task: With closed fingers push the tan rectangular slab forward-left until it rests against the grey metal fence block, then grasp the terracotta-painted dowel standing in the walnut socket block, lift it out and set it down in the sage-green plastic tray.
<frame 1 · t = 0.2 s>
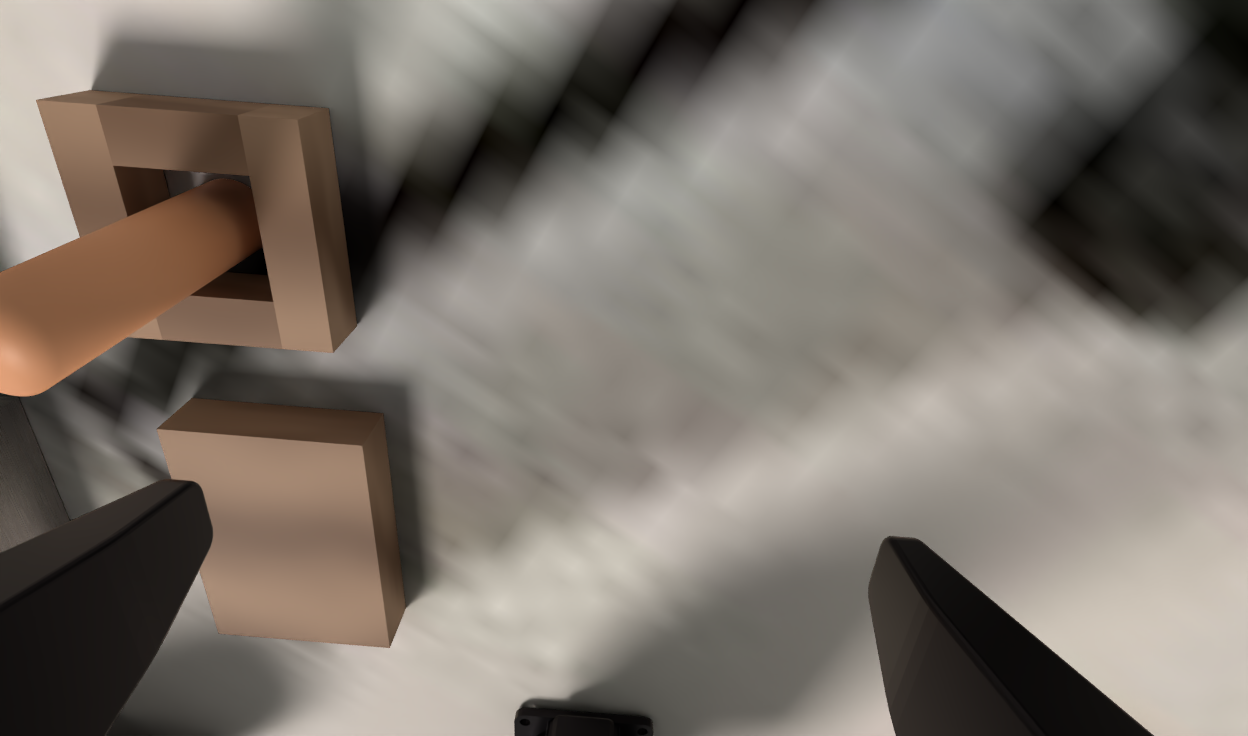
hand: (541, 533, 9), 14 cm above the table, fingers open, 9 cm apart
tan rectangular slab: (312, 504, 28), on the table
fence: (20, 490, 28), on the table
socket block: (233, 216, 22), on the table
dowel: (141, 267, 18), in the socket block
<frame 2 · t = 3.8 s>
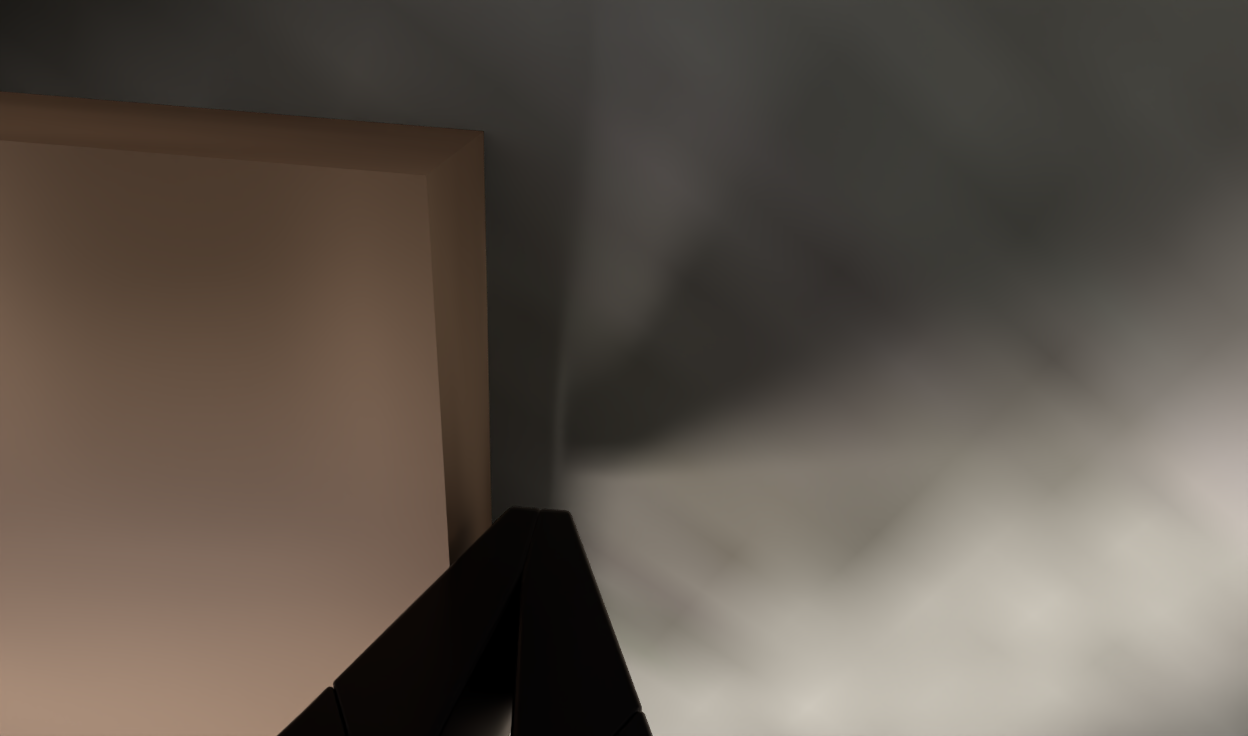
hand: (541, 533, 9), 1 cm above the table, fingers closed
tan rectangular slab: (262, 454, 10), on the table
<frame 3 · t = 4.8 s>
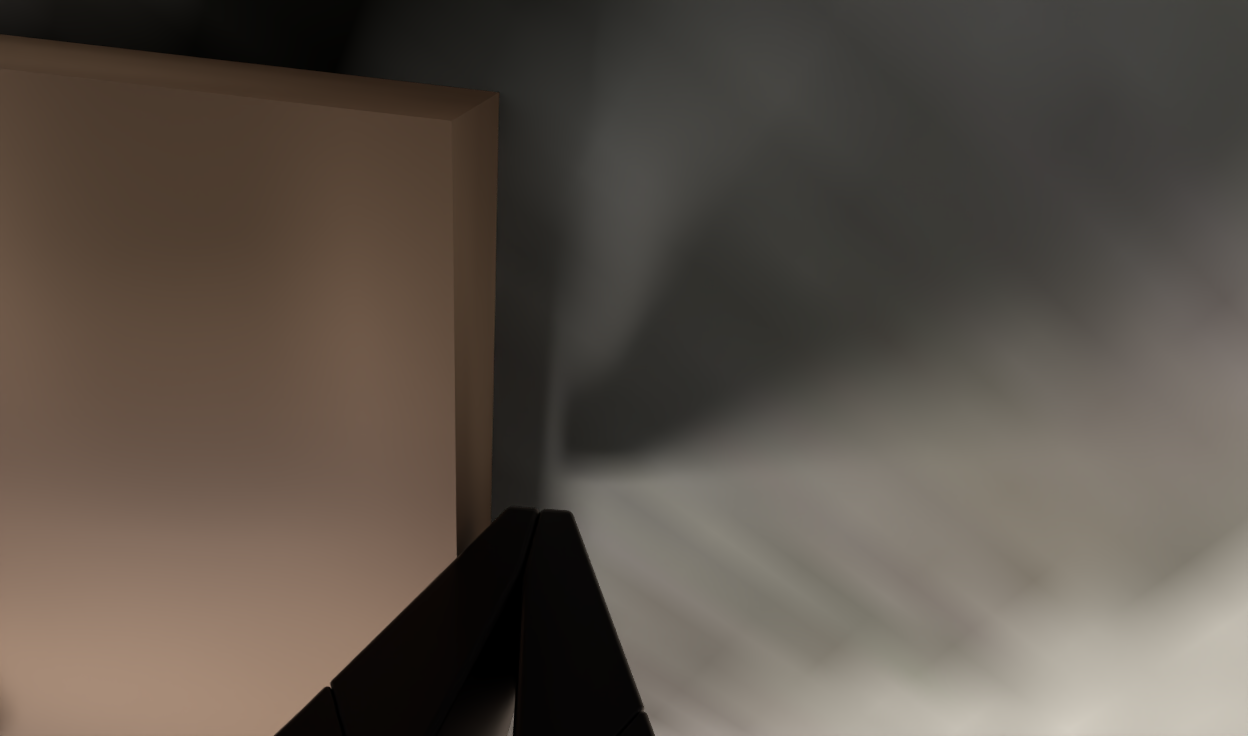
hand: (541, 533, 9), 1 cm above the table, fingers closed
tan rectangular slab: (264, 417, 10), on the table
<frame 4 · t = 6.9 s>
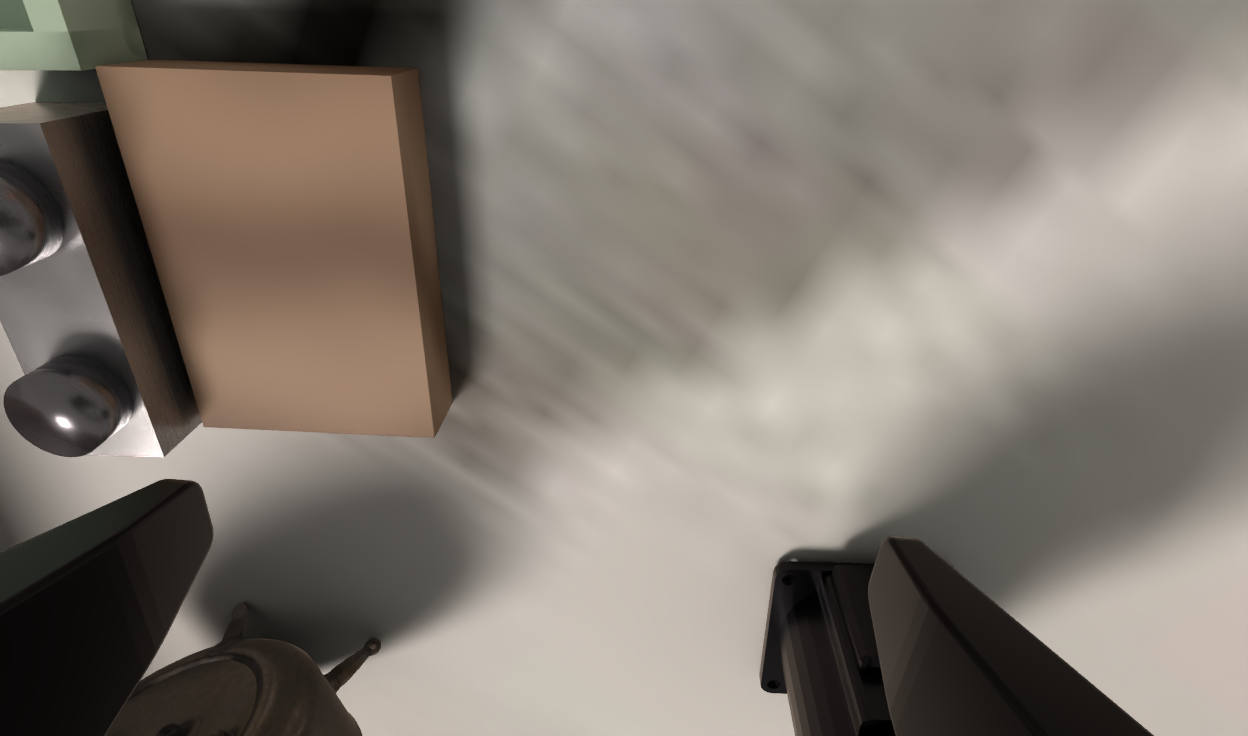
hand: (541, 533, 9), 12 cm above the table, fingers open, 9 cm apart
tan rectangular slab: (324, 245, 21), on the table
alarm clock: (272, 635, 28), on the table
fence: (142, 263, 21), on the table
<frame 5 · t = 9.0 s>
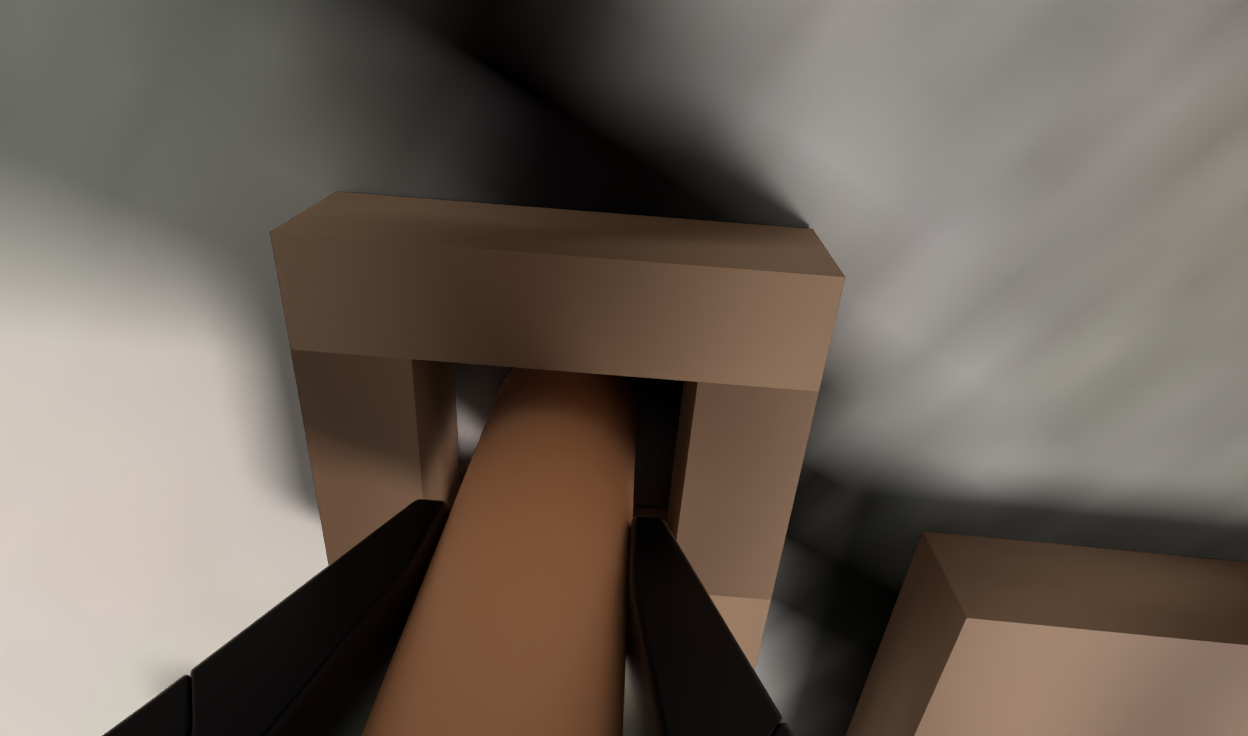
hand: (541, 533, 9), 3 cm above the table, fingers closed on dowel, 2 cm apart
tan rectangular slab: (1101, 666, 15), on the table
socket block: (567, 413, 12), on the table
dowel: (521, 621, 8), in the socket block, touching gripper
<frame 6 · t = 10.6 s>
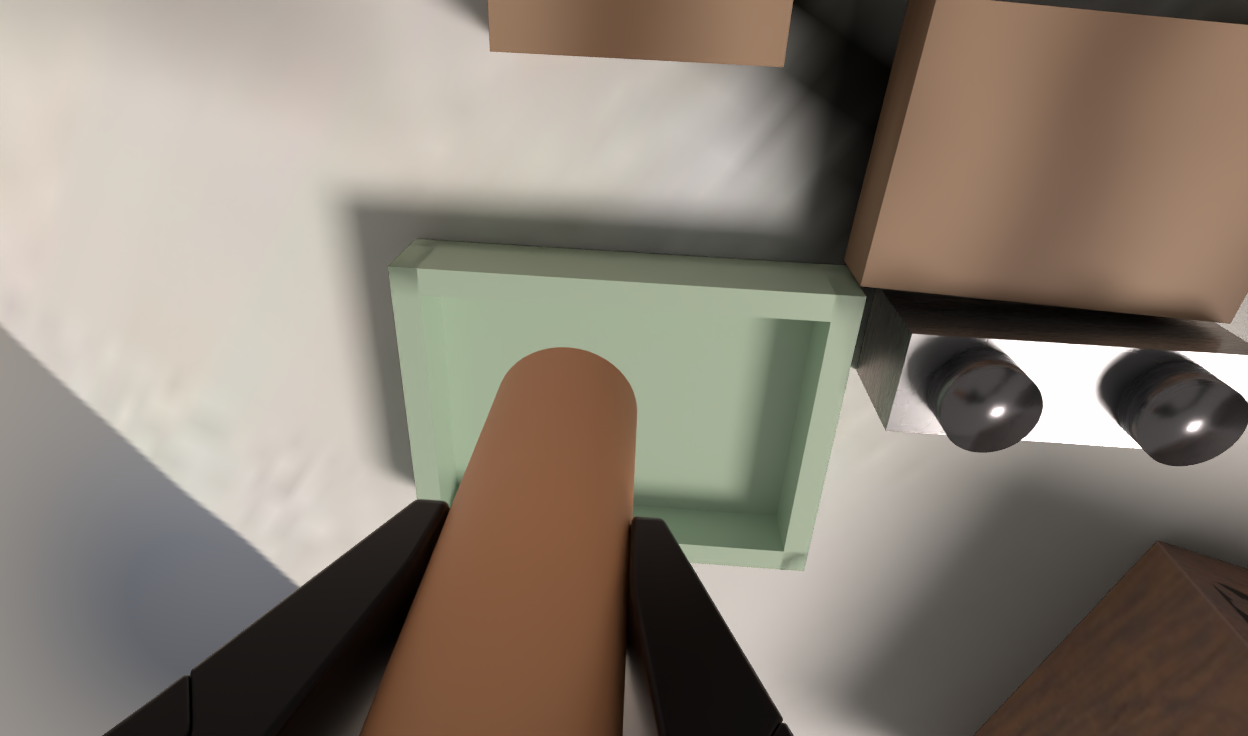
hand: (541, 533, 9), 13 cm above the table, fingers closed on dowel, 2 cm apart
tray: (622, 394, 23), on the table
tan rectangular slab: (1049, 154, 19), on the table
fence: (1012, 337, 22), on the table
dowel: (521, 618, 8), point 15 cm above the table, touching gripper
when the fingers open (5 cm above the table, at t = 12.5 s): dowel drops 1 cm, resting on tray.
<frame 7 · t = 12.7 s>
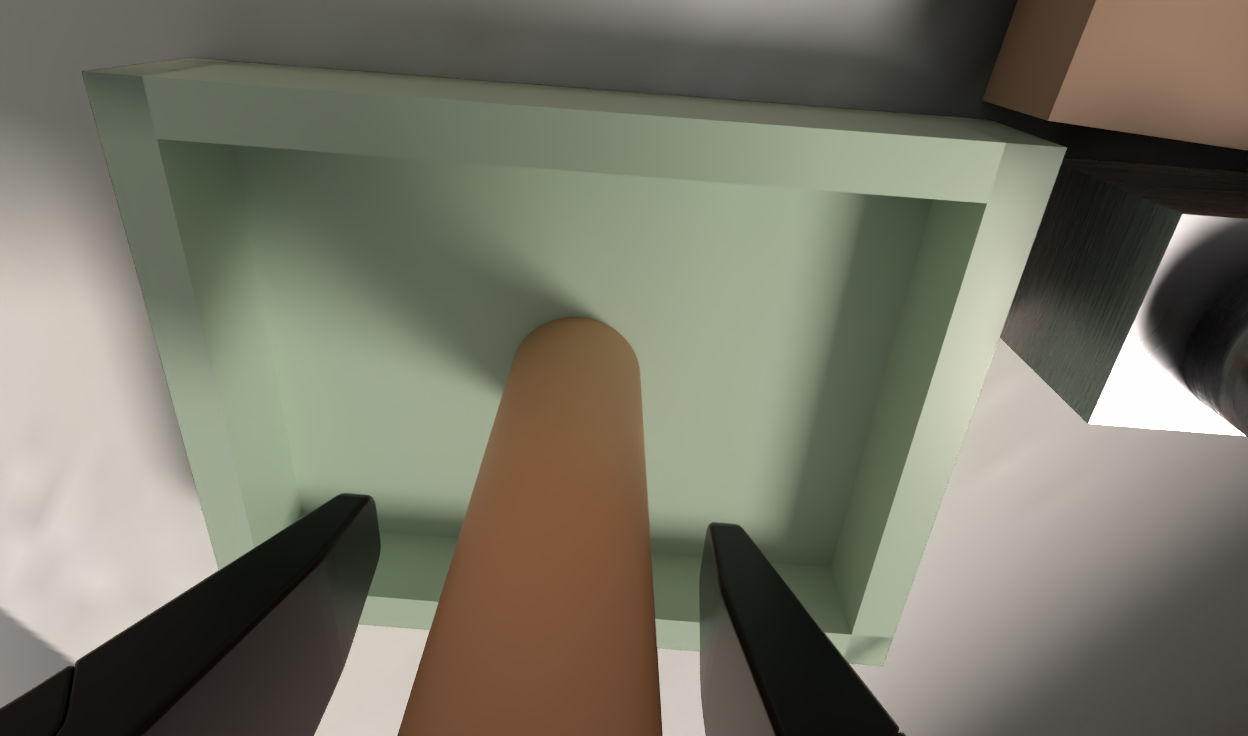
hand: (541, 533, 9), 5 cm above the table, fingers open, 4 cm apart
tray: (577, 361, 14), on the table
dowel: (557, 536, 9), in the tray, point 5 cm above the table
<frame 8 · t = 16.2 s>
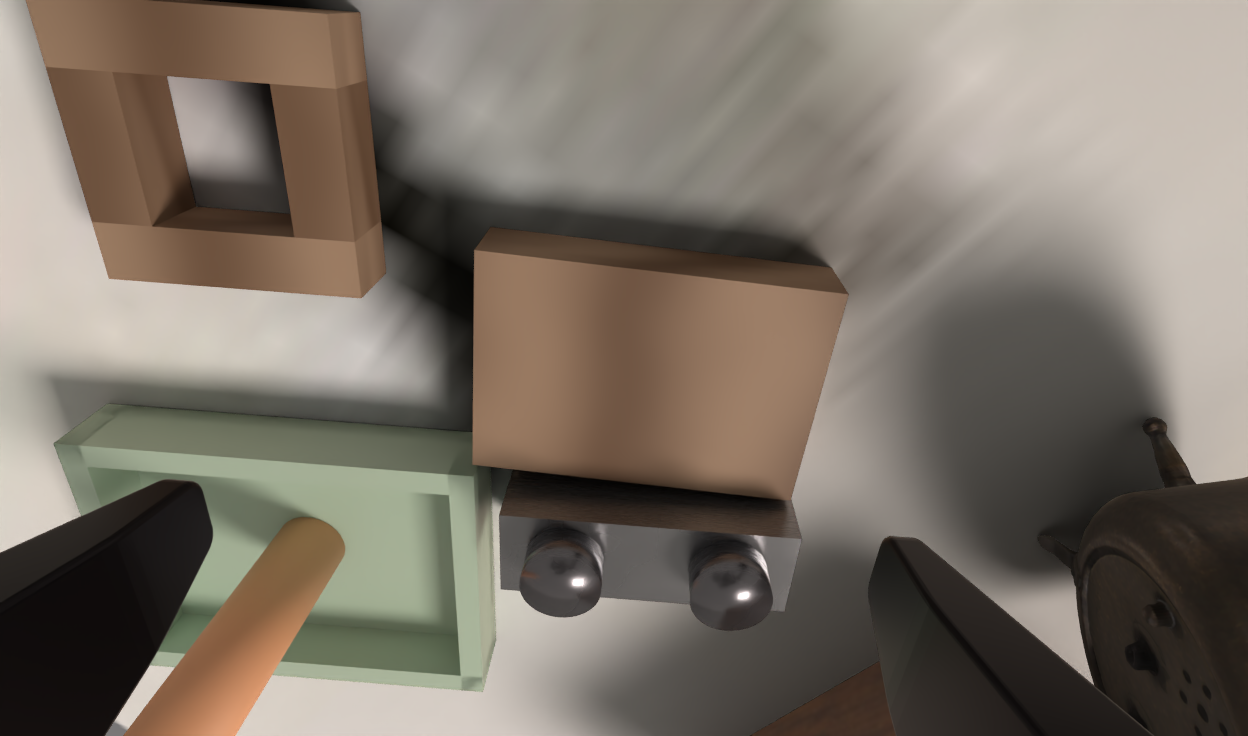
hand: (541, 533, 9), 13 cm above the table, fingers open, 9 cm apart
tray: (319, 532, 26), on the table
tan rectangular slab: (646, 347, 22), on the table
alarm clock: (1099, 524, 25), on the table
fence: (647, 493, 24), on the table
socket block: (248, 144, 19), on the table
dowel: (244, 642, 21), in the tray, point 5 cm above the table
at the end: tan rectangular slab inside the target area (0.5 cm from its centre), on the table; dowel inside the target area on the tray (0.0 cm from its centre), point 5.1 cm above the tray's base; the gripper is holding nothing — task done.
